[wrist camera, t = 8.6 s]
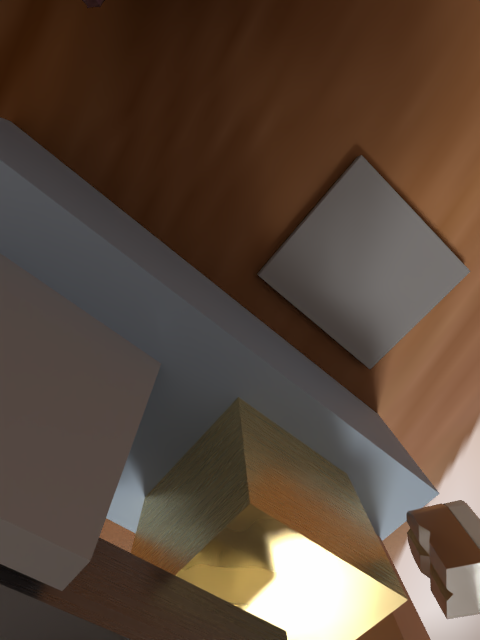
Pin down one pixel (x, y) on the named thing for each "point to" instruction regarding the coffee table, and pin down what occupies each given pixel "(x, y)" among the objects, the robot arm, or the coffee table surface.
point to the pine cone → (93, 3)
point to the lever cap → (269, 531)
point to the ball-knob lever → (121, 605)
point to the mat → (363, 265)
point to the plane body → (143, 378)
